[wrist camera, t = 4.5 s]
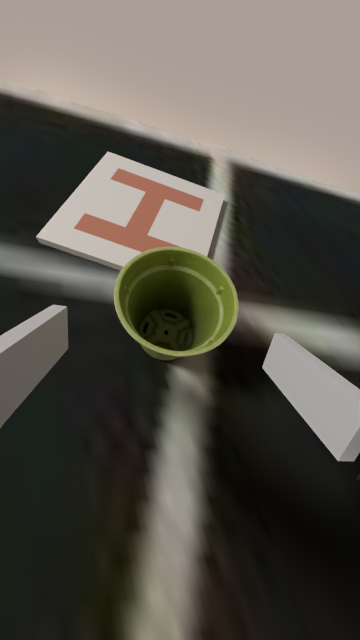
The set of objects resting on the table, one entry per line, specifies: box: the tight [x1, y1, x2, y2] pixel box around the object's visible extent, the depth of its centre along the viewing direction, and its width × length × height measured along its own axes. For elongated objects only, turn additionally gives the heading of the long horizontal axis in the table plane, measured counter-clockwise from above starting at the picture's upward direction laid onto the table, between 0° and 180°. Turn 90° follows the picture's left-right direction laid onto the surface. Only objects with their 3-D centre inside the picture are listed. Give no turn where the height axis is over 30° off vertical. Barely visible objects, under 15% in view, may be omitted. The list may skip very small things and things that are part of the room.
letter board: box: [36, 152, 225, 271], centre depth 29 cm, size 20×20×1 cm
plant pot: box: [114, 247, 239, 360], centre depth 19 cm, size 9×9×9 cm
